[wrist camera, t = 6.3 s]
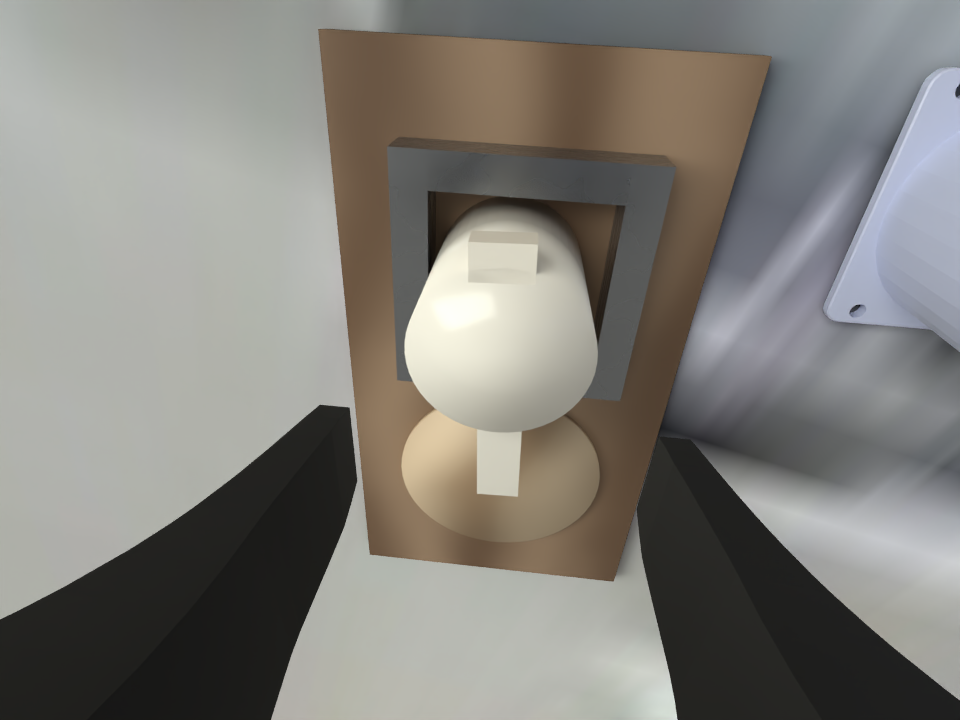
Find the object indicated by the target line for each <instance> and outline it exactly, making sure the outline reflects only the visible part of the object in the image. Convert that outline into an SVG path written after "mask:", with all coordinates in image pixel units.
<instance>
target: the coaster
mask: <svg viewBox="0 0 960 720" xmlns="http://www.w3.org/2000/svg"><path fill="white" fill-rule="evenodd" d="M401 468H402V475H403V479H404V482H405V486H406V488H407V490H408V492H409V494H410V495H411V497H412V498H413V500H414V501H415V503H416V504H417V505H418V506H419V507H420V508H421V509H422V510H423V511H424V512H425V513H426V514H427V515H428V516H429V517H431V518H432V519H433V520H435V521H436V522H438V523H439V524H441V525H443V526H444V527H446V528H448V529H450V530H452V531H455V532H457V533H459V534H462V535H465V536H468V537H471V538H475V539H480V540H485V541H492V542H522V541H530V540H535V539H539V538H543V537H546V536H549V535H552V534H554V533H556V532H559V531H561V530H563V529H564V528H566V527H568V526H569V525H571V524H572V523H574V522H575V521H576V520H578V519H579V518H580V517H581V516H582V515H583V514H584V513H585V512H586V510H587V509H588V508H589V506H590V505H591V503H592V502H593V500H594V498H595V496H596V493H597V490H598V487H599V480H600V471H599V462H598V458H597V453H596V451H595V448H594V446H593V444H592V442H591V440H590V439H589V437H588V436H587V434H586V433H585V432H584V431H583V429H582V428H581V427H580V426H579V425H578V424H577V423H576V422H575V421H574V420H572V419H571V418H570V417H569V416H567V415H566V414H564V415H563V416H561V417H560V418H558V419H556V420H555V421H553V422H551V423H548V424H546V425H544V426H541V427H538V428H534V429H531V430H526V431H522V435H521V452H520V469H519V485H518V497H516V496H502V495H488V494H477V429H474V428H471V427H468V426H465V425H463V424H460V423H458V422H456V421H454V420H452V419H450V418H448V417H447V416H445V415H443V414H442V413H441V412H439V411H438V410H437V409H434V410H432V411H430V412H429V413H428V414H427V415H426V416H424V417H423V418H422V419H421V420H420V421H419V422H418V423H417V424H416V426H415V427H414V428H413V430H412V431H411V433H410V434H409V437H408V439H407V441H406V444H405V447H404V451H403V455H402V465H401Z"/></svg>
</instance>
